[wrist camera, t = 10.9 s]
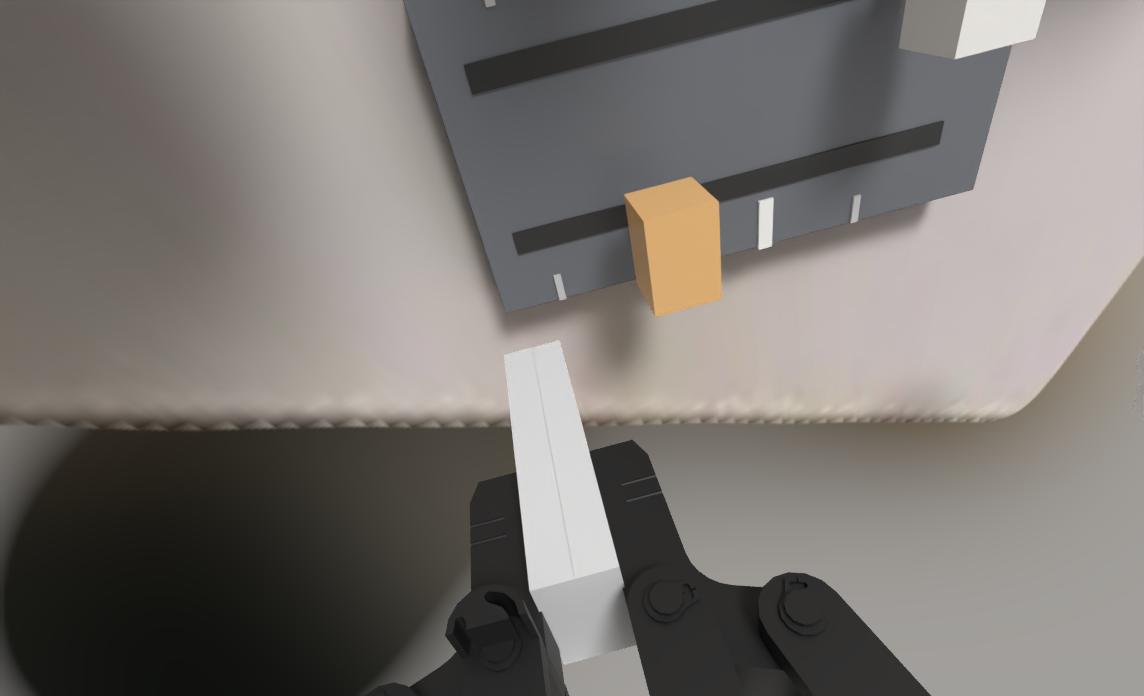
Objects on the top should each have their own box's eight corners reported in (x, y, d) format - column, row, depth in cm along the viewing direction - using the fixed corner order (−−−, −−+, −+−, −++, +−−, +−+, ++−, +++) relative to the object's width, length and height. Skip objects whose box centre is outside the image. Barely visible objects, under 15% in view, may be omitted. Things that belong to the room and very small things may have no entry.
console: (503, 292, 25) (506, 316, 23) (400, -26, 17) (394, -25, 16) (939, 176, 25) (974, 192, 23) (1020, -181, 18) (1080, -196, 16)
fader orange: (624, 261, 22) (655, 317, 19) (611, 176, 20) (643, 221, 16) (680, 246, 22) (722, 299, 19) (673, 160, 20) (719, 202, 16)
